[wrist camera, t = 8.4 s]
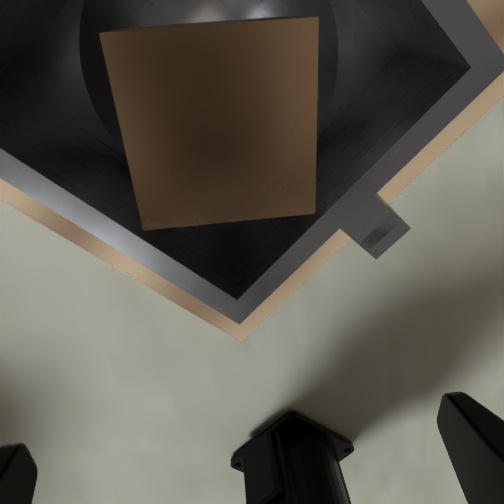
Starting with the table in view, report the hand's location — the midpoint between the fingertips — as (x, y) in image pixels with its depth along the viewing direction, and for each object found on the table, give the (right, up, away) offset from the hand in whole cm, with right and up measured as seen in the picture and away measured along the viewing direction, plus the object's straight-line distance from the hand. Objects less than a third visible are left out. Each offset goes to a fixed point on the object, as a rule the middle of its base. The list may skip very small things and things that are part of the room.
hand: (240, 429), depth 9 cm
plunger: (-1, +11, +6) cm, 13 cm away
